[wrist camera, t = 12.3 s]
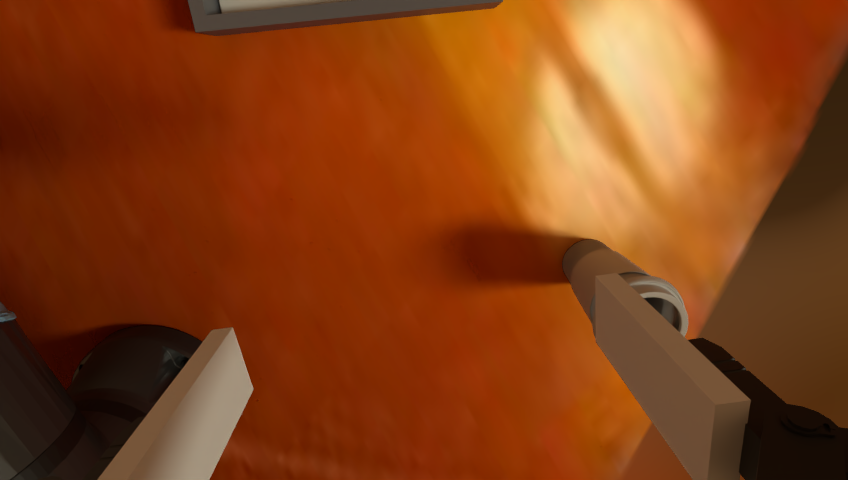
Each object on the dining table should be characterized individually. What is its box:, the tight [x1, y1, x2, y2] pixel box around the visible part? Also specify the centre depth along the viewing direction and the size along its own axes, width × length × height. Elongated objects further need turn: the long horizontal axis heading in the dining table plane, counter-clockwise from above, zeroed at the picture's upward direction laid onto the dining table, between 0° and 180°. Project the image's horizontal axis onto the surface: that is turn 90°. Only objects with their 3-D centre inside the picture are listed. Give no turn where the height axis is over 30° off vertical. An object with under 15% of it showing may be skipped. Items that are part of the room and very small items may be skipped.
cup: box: [562, 239, 688, 338], centre depth 37 cm, size 7×7×12 cm
